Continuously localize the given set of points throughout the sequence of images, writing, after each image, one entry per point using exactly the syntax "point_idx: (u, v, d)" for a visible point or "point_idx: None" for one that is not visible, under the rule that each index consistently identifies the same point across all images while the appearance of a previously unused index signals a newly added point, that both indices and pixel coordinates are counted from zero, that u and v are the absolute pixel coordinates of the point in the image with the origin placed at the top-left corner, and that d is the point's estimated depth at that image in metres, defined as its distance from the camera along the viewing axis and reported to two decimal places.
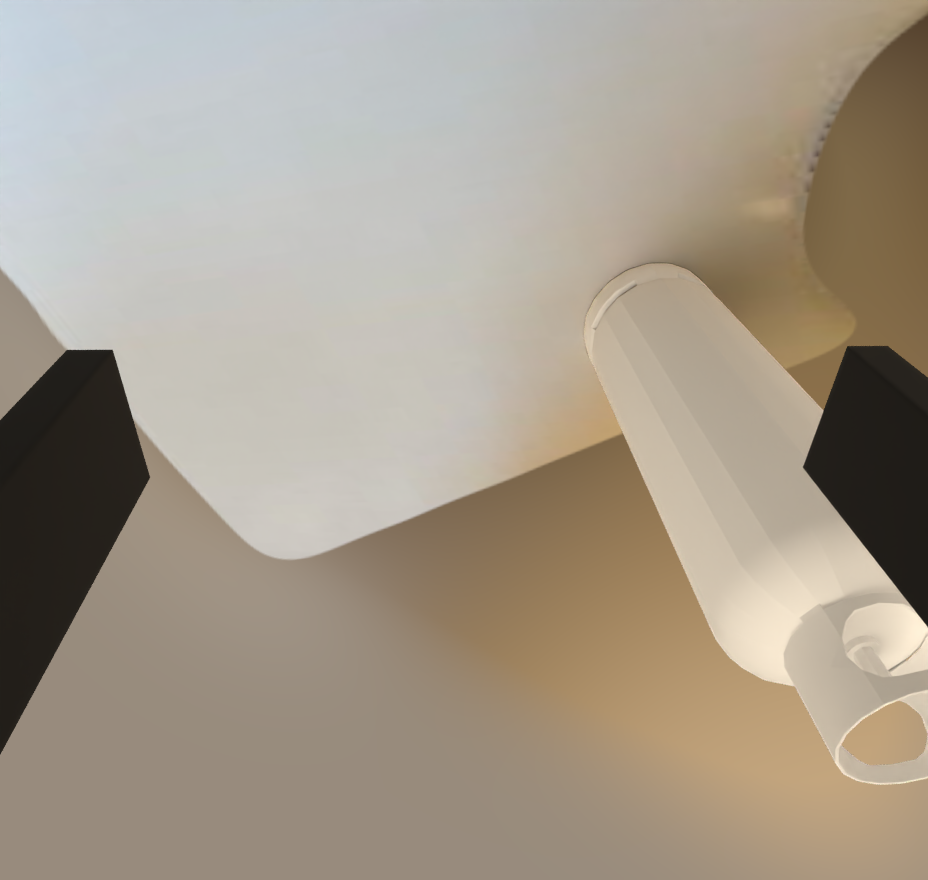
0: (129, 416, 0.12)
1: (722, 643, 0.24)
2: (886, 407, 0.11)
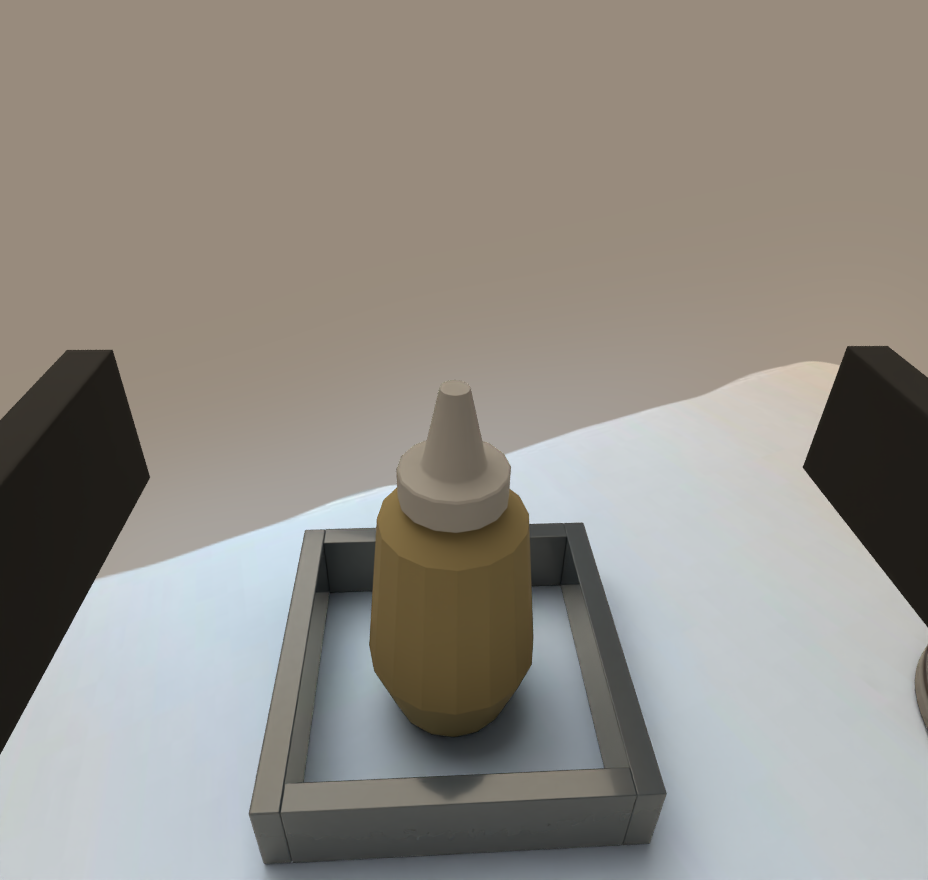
0: (129, 416, 0.12)
1: None
2: (886, 407, 0.11)
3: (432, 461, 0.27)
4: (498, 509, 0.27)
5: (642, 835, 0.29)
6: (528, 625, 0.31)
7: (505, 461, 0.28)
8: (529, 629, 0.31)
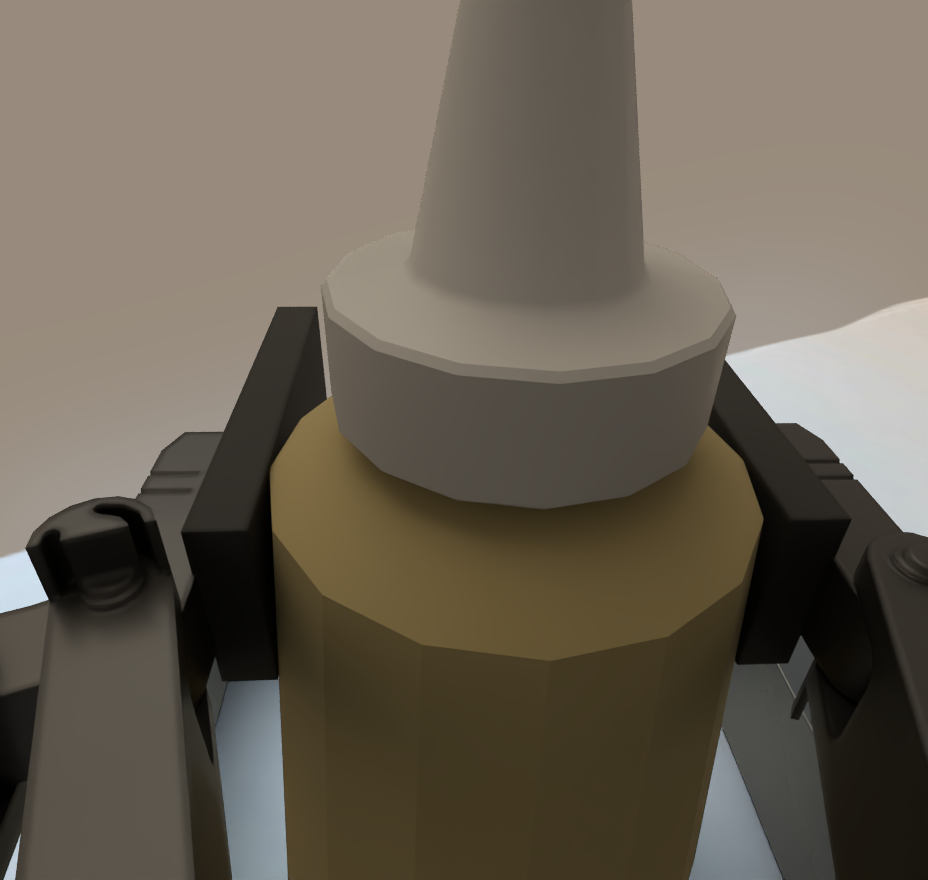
0: (321, 367, 0.14)
1: None
2: None
3: (450, 223, 0.07)
4: (697, 421, 0.07)
5: None
6: (709, 778, 0.11)
7: (699, 269, 0.08)
8: (708, 786, 0.11)
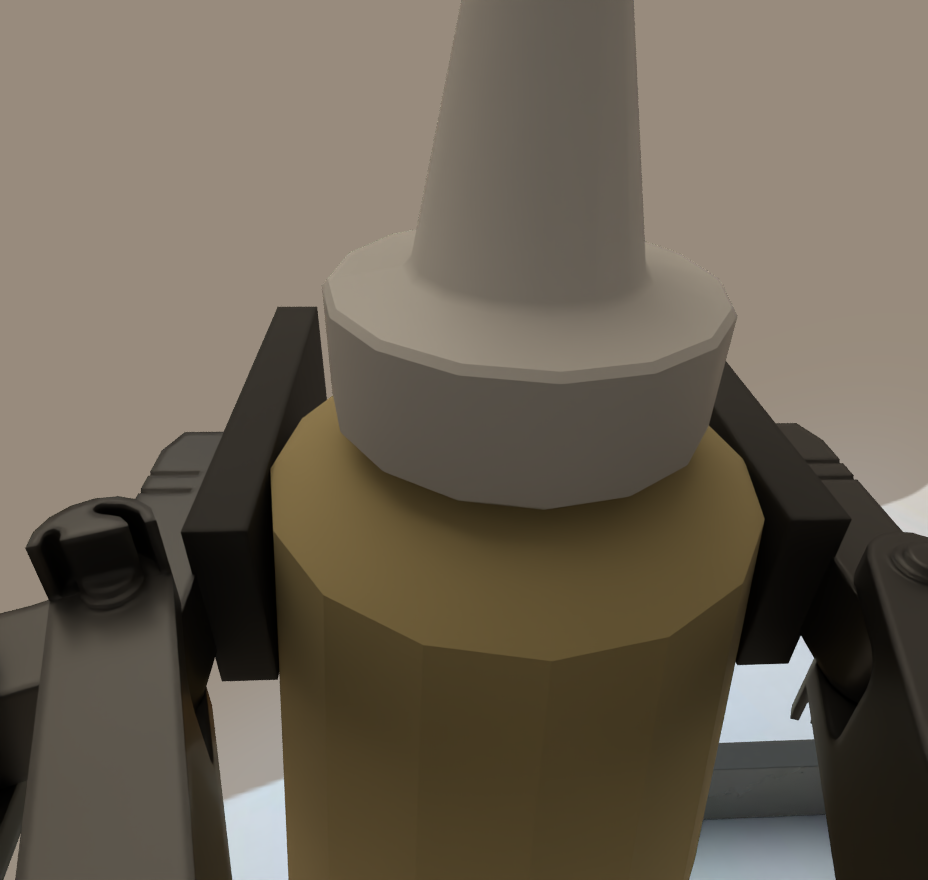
0: (320, 367, 0.14)
1: None
2: None
3: (451, 222, 0.07)
4: (699, 421, 0.07)
5: None
6: (710, 778, 0.11)
7: (700, 269, 0.08)
8: (709, 786, 0.11)
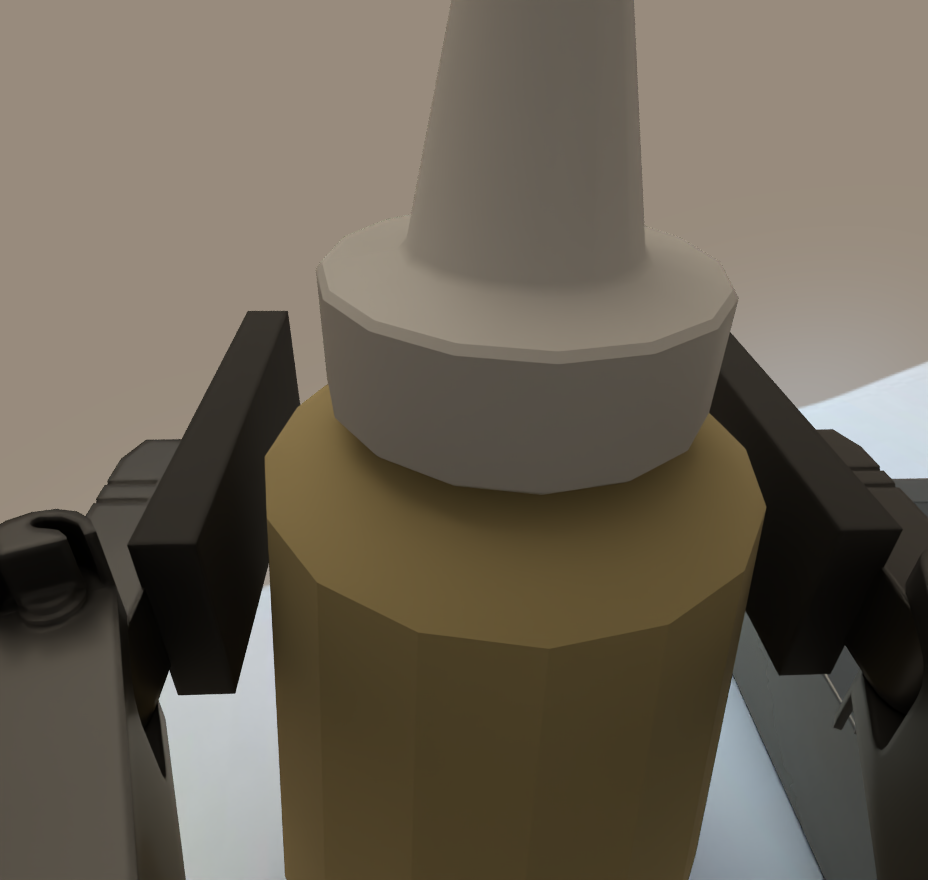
0: (293, 372, 0.14)
1: None
2: None
3: (447, 202, 0.07)
4: (700, 405, 0.07)
5: None
6: (711, 772, 0.11)
7: (701, 252, 0.08)
8: (710, 780, 0.11)
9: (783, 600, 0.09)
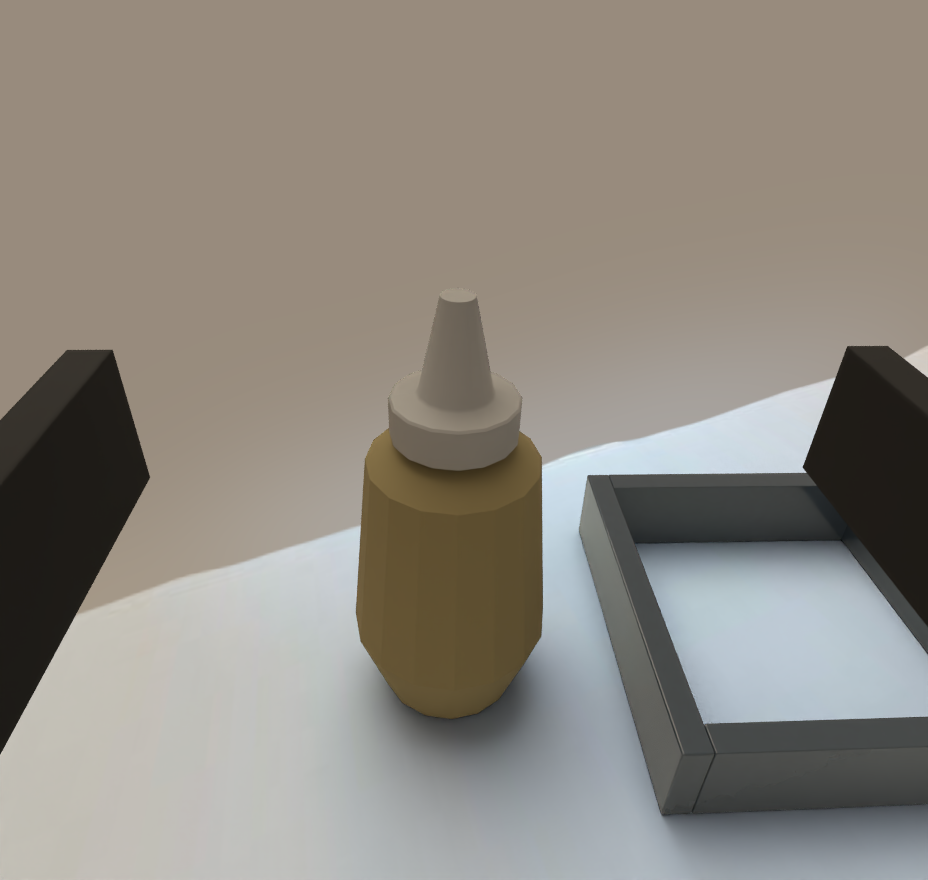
0: (129, 416, 0.12)
1: None
2: (886, 407, 0.11)
3: (430, 385, 0.23)
4: (507, 444, 0.23)
5: None
6: (538, 589, 0.27)
7: (515, 391, 0.24)
8: (539, 594, 0.27)
9: None
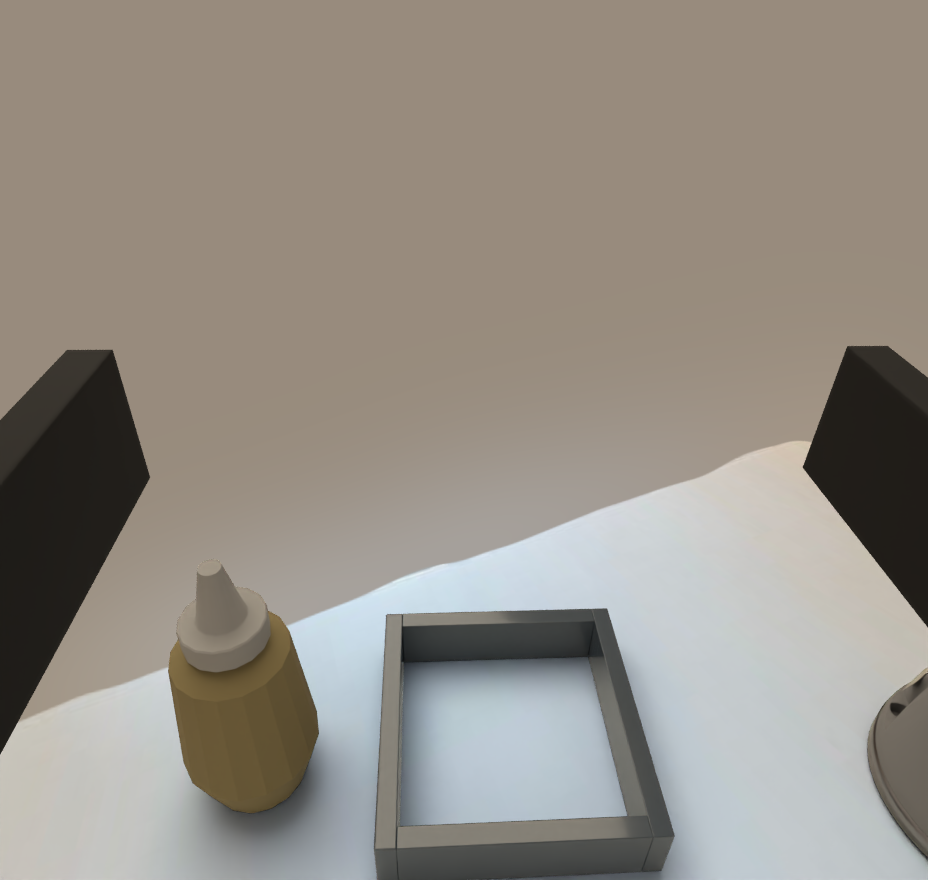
0: (129, 416, 0.12)
1: None
2: (886, 407, 0.11)
3: (198, 618, 0.35)
4: (251, 652, 0.36)
5: (656, 865, 0.39)
6: (299, 730, 0.40)
7: (263, 612, 0.37)
8: (301, 732, 0.40)
9: None
